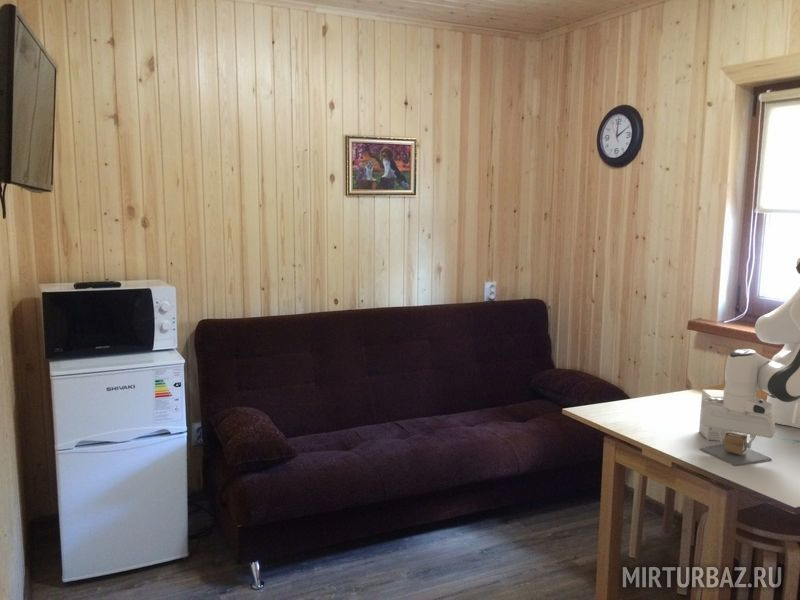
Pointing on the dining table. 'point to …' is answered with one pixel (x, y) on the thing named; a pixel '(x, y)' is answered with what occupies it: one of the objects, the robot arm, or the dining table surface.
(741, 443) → the letter cube
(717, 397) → the supplement box
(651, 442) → the dining table surface
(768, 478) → the dining table surface
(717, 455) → the coaster
